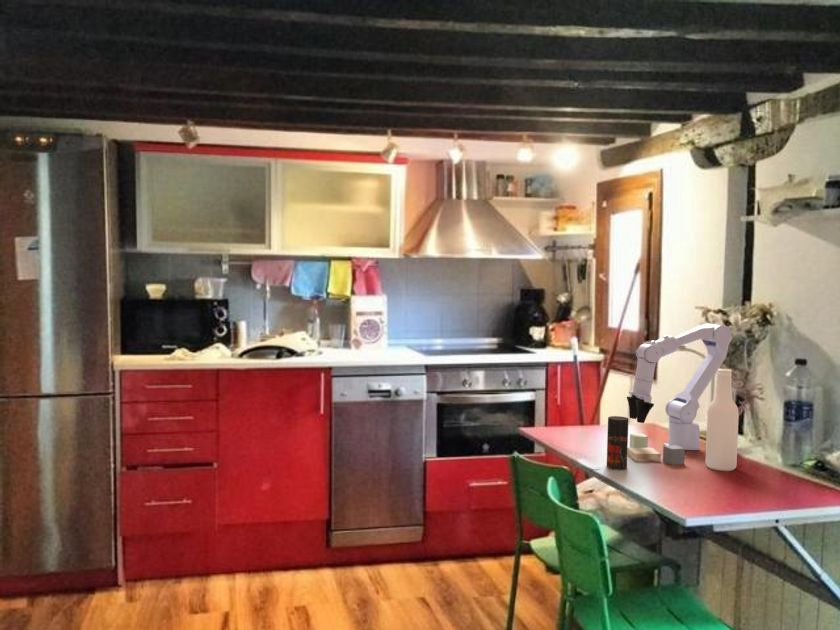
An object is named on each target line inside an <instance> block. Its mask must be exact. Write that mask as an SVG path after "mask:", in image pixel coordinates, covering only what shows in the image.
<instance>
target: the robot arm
mask: <svg viewBox="0 0 840 630" xmlns="http://www.w3.org/2000/svg"><path fill="white" fill-rule="evenodd" d="M699 340H701V342H702V343H703V345H704V347H705V348H706V350H707V354H706V355H705V357H704V359H703V361H702V362H701V363H700V364H699V367H698V368H697V369H696V371H695V372H694V373H693V375H692V377H691V379H690V380H689V382H688V383H687V385H685V388H684V389H683V391H681V392H679V393H677V394H675V396H674V397H673V398H672V399H671V400H669V401H668V402H667V403H666V405H665V413H666V415H667V416H668V443H667V442H664V443H663V446H669V445H677V446H680V447H682V448H685V451H700V450H701V448H700V435H701V433H700V432H701V431H700V425H699V422H697V421H694V420H695V419H696V417H697V415H698V414H697V413H698V410H699V408H700V404H699V403H700V402H699V399H700V398H701V395H702V394H703V393H704V391H705V390H706V389H707V387H708V385H709V384H710V382H711V381H712V379H713V378H714V376H715V375H716V374H717V373H718V369H720V367H721V366H722V364H723V363H724V361H725V360H726V358H727V355H728V349H729V345H730V343H731V342H732V341H733V336H732V331H731V329H730V328H729V326H727V325H724V324H714V323H710V322H709V323H708V322H707V323H704V324H700V325H697V326H696V327H694V328H691V329H690V330H687V331H685V332H683V333H680V334H679V335H676V336H673V335H671V334H670V335H668V334H664V335H663V336H662V338H659V339H657V340H651V341H650V343H643V344H640V345H639V346H638V348H637V350H635V355H636V357H637V362H636V363H637V364H636V370H635V375H634V381H633V387H632V389H631V390H629V391H628V394H629V395H630V396H626V400H627V404H628V413H629V415H628V416H629V419H632V420H633V419H634V420H636V422H637V423H638V424H639V423H640V424H644V423H645V421H646V420H647V417H648V415H649V413H650V412H651V410H652V408H653V407H654V405H655V403H652V398H653V397H652V396H651V395H652V394H651V393H652V386H653V382H654V377H655V369H656V364H657V363H658V362H659V361H660V360H661V358H663V357H666V356H669V355H671V354H674V353H675V352H678V350H679V348H680V347H681V346H684V345H687V344H689V343H693V342H695V341H699Z"/></svg>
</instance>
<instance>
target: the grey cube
mask: <svg viewBox="0 0 840 630" xmlns="http://www.w3.org/2000/svg"><path fill="white" fill-rule="evenodd" d="M685 451H686V450H685V448H682V447H680V446H677V445H669V446H665V445H663V446H662V462H663V463H665V464H668V465H670V466H677V465H685V455H686V454H685V453H686V452H685Z"/></svg>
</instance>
